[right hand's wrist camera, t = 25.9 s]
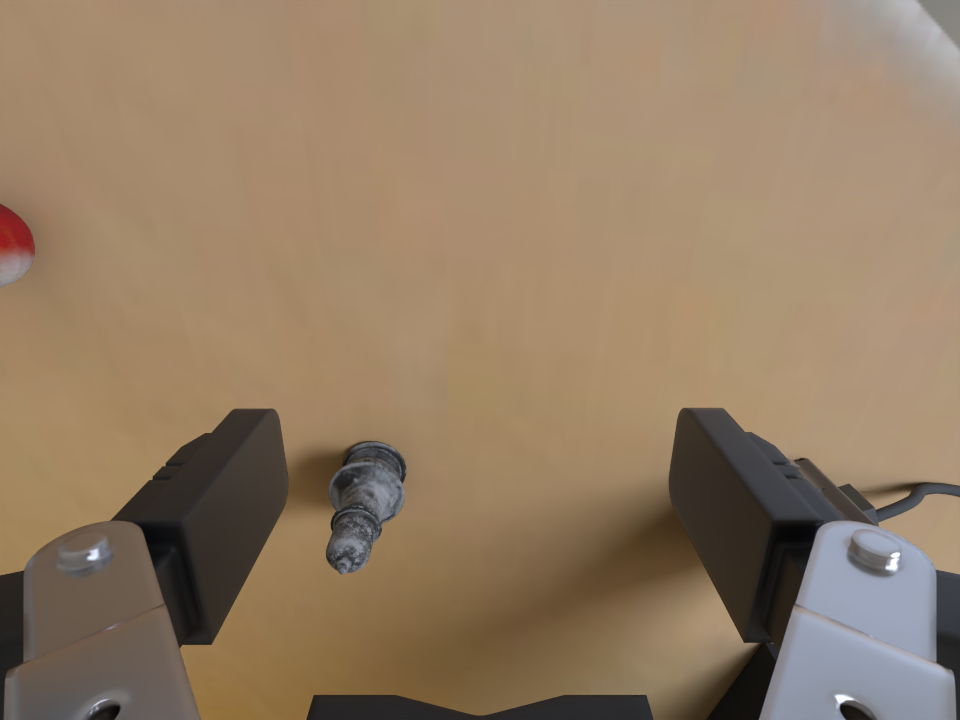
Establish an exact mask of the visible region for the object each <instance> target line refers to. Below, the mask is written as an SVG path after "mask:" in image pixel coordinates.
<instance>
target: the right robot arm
mask: <svg viewBox="0 0 960 720" xmlns="http://www.w3.org/2000/svg"><path fill="white" fill-rule="evenodd" d="M669 493H670V498H671V502H672V505H673V507H674V510H675V511H676V513H677V515H678V517H679V519H680V521H681V523H682V525H683V527H684V529H685V531H686V532H687V534H688V536H689V538H690V540H691V542H692V544H693V546H694V548H695V550H696V552H697V554H698V555H699V557H700V559H701V561H702V563H703V565H704V567H705V569H706V571H707V573H708V575H709V576H710V578H711V580H712V582H713V584H714V586H715V588H716V590H717V592H718V594H719V596H720V598H721V599H722V601H723V603H724V605H725V607H726V609H727V611H728V613H729V615H730V617H731V619H732V620H733V622H734V624H735V626H736V628H737V630H738V632H739V634H740V636H741V638H742V640H743V642H744V643H774V645H775V647H776V648H777V650H778V652H779V656H778V659H777V662H776V665H775V669H774V672H773V675H772V679H771V682H770V685H769V688H768V692H767V695H766V698H765V702H764V705H763V708H762V711H761V715H760V718H759V720H960V575H959V574H954V573H949V572H944V571H939V570H936V569H935V567H934V565H933V563H932V562H931V560H930V559H929V558H928V556H927V555H925V554H924V553H923V552H922V551H921V550H920V549H919V548H918V547H916V546H915V545H914V544H912V543H911V542H909V541H907V540H906V539H904V538H902V537H900V536H899V535H897V534H894V533H892V532H890V531H888V530H885V529H882V528H880V527H879V526H878V522H881V521H883V520H886V519H888V518H891V517H894V516H896V515H899V514H901V513H903V512H906V511H908V510H910V509H912V508H913V507H915V506H916V505H918V504H919V503H920V502H921V501H922V500H923V498H924V496H925V495H928V494H948V495H954V496H959V497H960V486H956V485H950V484H941V483H929V484H921V485H918V486H917V487H916V488H914V489H913V490H912V492H911V493H910V495H909V496H908V497H906V498H904V499H902V500H900V501H898V502H895V503H893V504H890V505H888V506H885V507H883V508H880V509H877V510H875V507H873V506H872V505H871V504H870V503H869V502H868V501H867V500H866V499H865V498H864V497H863V496H862V495H861V494H860V493H859V492H857V491H856V490H855V489H854V488H853V487H852V486H851V485H850V484H846V485H843V486H840V487H837V486H836V485H835V484H834V483H833V482H832V481H831V480H830V479H829V478H828V477H827V476H826V475H825V474H824V473H823V472H822V471H820V470H819V469H818V468H817V467H816V466H815V465H814V464H813V463H812V462H811V461H810V460H809V459H803V460H800V461H792V460H789V459H787V458H786V457H785V456H784V455H783V454H782V453H781V452H780V451H779V450H778V449H777V448H776V447H775V446H774V445H772V444H771V443H769V442H767V441H765V440H764V439H762V438H760V437H759V436H757V435H755V434H753V433H752V432H744V430H743V429H742V428H741V427H740V426H739V425H738V424H737V423H736V422H735V420H734V419H733V418H732V417H731V416H730V415H729V414H728V413H727V412H726V410H724V409H723V408H683V409H682V410H681V411H680V413H679V415H678V419H677V425H676V432H675V438H674V445H673V452H672V459H671V466H670V472H669ZM287 494H288V473H287V466H286V459H285V453H284V446H283V439H282V433H281V426H280V420H279V416H278V414H277V412H276V411H275V410H274V409H234V410H232V411H231V412H230V413H229V414H228V415H227V416H226V417H225V419H224V420H223V421H222V422H221V423H220V424H219V425H218V426H217V427H216V428H215V430H214V431H213V432H212V433H205V434H203V435H201V436H200V437H198V438H196V439H194V440H193V441H191V442H189V443H187V444H186V445H184V446H182V447H181V448H180V449H179V450H178V451H177V452H176V453H175V454H174V455H173V456H172V457H171V458H170V459H169V460H168V461H167V462H166V466H163V467H162V468H161V469H160V470H159V471H158V472H157V473H156V474H155V475H154V476H153V480H149V481H148V482H147V483H146V484H145V485H144V486H143V487H142V488H141V489H140V490H139V491H138V492H137V494H136V495H135V496H134V497H133V498H132V499H131V500H130V501H129V502H128V503H127V504H126V505H125V506H124V507H123V508H122V509H121V510H120V511H119V512H118V513H117V514H116V515H115V516H114V517H113V518H112V519H111V520H110V521H105V522H99V523H94V524H90V525H87V526H83V527H80V528H78V529H75V530H72V531H70V532H68V533H66V534H63V535H61V536H60V537H58V538H56V539H54V540H53V541H51V542H49V543H48V544H46V545H45V546H44V547H42V548H41V549H40V550H39V551H38V552H37V553H36V554H35V555H33V556H32V558H31V559H30V560H29V562H28V563H27V565H26V567H25V569H24V571H20V572H15V573H10V574H5V575H0V720H201V718H200V715H199V711H198V708H197V705H196V702H195V698H194V695H193V692H192V688H191V685H190V682H189V679H188V675H187V672H186V669H185V665H184V662H183V659H182V656H181V652H180V648H181V646H182V645H212V643H213V641H214V639H215V637H216V635H217V634H218V632H219V630H220V628H221V626H222V624H223V622H224V620H225V618H226V617H227V615H228V613H229V611H230V609H231V607H232V605H233V603H234V601H235V600H236V598H237V596H238V594H239V592H240V590H241V588H242V586H243V584H244V583H245V581H246V579H247V577H248V575H249V573H250V571H251V569H252V567H253V565H254V564H255V562H256V560H257V558H258V556H259V554H260V552H261V550H262V548H263V547H264V545H265V543H266V541H267V539H268V537H269V535H270V533H271V531H272V530H273V528H274V526H275V524H276V522H277V520H278V518H279V516H280V514H281V513H282V511H283V509H284V506H285V503H286V500H287ZM307 720H653V716H652V713H651V710H650V706H649V703H648V699H647V696H646V695H563V696H559V697H555V698H551V699H547V700H544V701H540V702H536V703H532V704H528V705H524V706H520V707H517V708H513V709H509V710H505V711H501V712H497V713H493V714H489V715H484V716H476V715H471V714H467V713H463V712H459V711H455V710H451V709H447V708H443V707H440V706H436V705H432V704H428V703H424V702H420V701H416V700H413V699H409V698H405V697H401V696H397V695H314V696H313V699H312V703H311V706H310V710H309V713H308V716H307Z"/></svg>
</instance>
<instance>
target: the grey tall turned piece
mask: <svg viewBox="0 0 960 720" xmlns="http://www.w3.org/2000/svg"><path fill="white" fill-rule="evenodd" d="M405 476H406V465H405V462H404V459H403V458H402V456H401V455H400V453H398V452H397V451H396V450H395V449H394V448H392V447H391V446H389V445H387V444H384V443H380V442H365V443H361V444H359V445H356V446H354V447H353V448H352V449H351V450H350V451H349V452H348V453H347V455H346V456H345V458H344V461H343V467H342V468H341V469H339V470H338V471H337V472H336V473H335V474H334V476H333V477H332V479H331V481H330V485H329V498H330V501H331V504H332V506H333V507H334V508H335V510H336V511H337V512H335V514H334V515H333V517H332V520H331V530H332V535H331V538H330V540H329V543H328V546H327V549H326V558H327V561H328V562H329V564H330V565H331V566H332V567H333V568H334V569H335V570H337V571H338V572H339V573H340V574H344V573H352V572H355V571H358V570H360V569H361V568H363V567H364V566H365V564H366V563H367V561H368V559H369V556H370V552H371V548H372V544H373V542H375V541H376V540H377V539H378V538H379V536H380V534H381V531H382V523H385V522H387V521H389V520H391V519H392V518H393V517H395V516H396V515H397V514H398V512H399V511H400V510H401V508H402V505H403V502H404V488H403V485H402V483H403V482H404V479H405Z"/></svg>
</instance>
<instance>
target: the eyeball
mask: <svg viewBox="0 0 960 720" xmlns="http://www.w3.org/2000/svg"><path fill="white" fill-rule="evenodd" d="M34 256H35V246H34V241H33V237H32V234H31V232H30V229H29V228H28V226H27V225H26V223H25V222H24V221H23V220H22V219H21V218H20V217H19V216H18V215H16V214H15V213H14V212H13V211H11V210H10V209H9V208H7V207H5V206H3V205H1V204H0V287H2V286H5V285H8V284H11V283H13V282H15V281H17V280H18V279H20V278H21V277H22V276H23V275H24V274H25V273H26V272H27V271H28V269H29V268H30V267H31V265H32V263H33V260H34Z"/></svg>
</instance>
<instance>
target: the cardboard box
mask: <svg viewBox="0 0 960 720" xmlns="http://www.w3.org/2000/svg"><path fill="white" fill-rule="evenodd" d="M778 656H779V652H778V650H777V648H776V647H775V645H774V644H771V643H763V645H762V646H761V647H760V649H759V650H758V651H757V653H756V654H755V655H754V657H753V658H752V660H751V661H750V662H749V664H748V665H747V666H746V668H745V669H744V670H743V672H742V673H741V675H740V676H739V677H738V679H737V680H736V681H735V683H734V684H733V685H732V687H731V688H730V690H729V691H728V692H727V694H726V695H725V696H724V698H723V699H722V700H721V702H720V703H719V705H718V706H717V707H716V709H715V710H714V711H713V713H712V714H711V715H710V717H709V718H708V720H759V718H760V715H761V711H762V708H763V705H764V702H765V698H766V695H767V692H768V688H769V685H770V682H771V679H772V675H773V672H774V669H775V665H776V662H777V659H778Z"/></svg>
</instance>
